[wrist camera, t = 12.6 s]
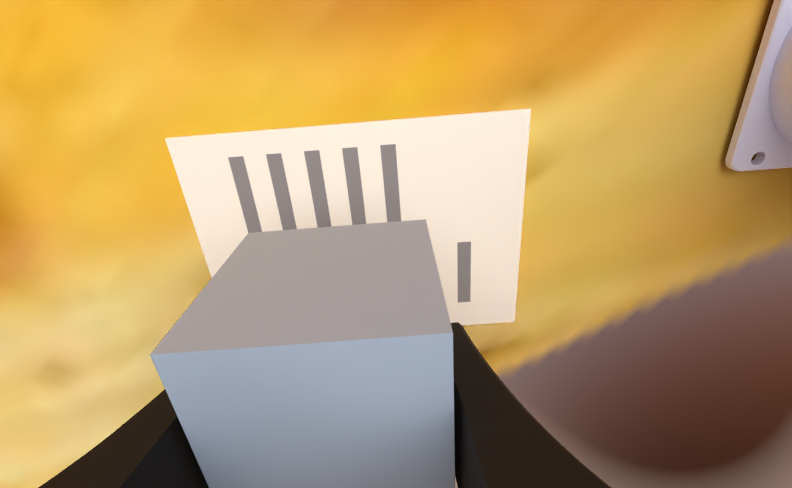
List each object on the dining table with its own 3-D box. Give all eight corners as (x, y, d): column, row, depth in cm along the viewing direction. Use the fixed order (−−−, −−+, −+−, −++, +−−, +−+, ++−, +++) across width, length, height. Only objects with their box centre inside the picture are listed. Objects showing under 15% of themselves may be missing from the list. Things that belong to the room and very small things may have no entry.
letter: (528, 108, 15) (531, 108, 15) (513, 319, 19) (514, 322, 19) (167, 137, 15) (165, 138, 15) (234, 339, 19) (233, 342, 19)
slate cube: (426, 219, 11) (452, 332, 6) (431, 357, 13) (455, 516, 8) (248, 232, 11) (150, 354, 6) (283, 368, 13) (228, 531, 9)
